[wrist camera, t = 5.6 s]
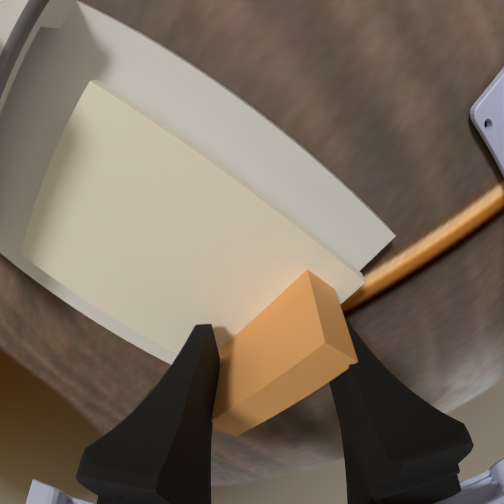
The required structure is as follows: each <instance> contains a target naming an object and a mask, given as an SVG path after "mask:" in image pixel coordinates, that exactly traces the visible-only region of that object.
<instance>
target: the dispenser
mask: <svg viewBox="0 0 504 504" xmlns="http://www.w3.org/2000/svg"><path fill="white" fill-rule="evenodd" d="M92 80H99V81H100V82H102V83H104V84H105V85H107V86H108V87H110V88H111V89H113V90H115V91H116V92H118V93H119V94H121V95H122V96H124V97H125V98H127V99H128V100H130V101H132V102H133V103H135V104H136V105H138V106H139V107H141V108H142V109H144V110H145V111H147V112H148V113H150V114H151V115H153V116H154V117H156V118H157V119H158V120H160V121H161V122H163V123H164V124H166V125H167V126H169V127H170V128H172V129H173V130H175V131H176V132H177V133H179V134H180V135H182V136H183V137H185V138H186V139H188V140H189V141H190V142H192V143H193V144H195V145H196V146H197V147H199V148H200V149H202V150H203V151H204V152H206V153H207V154H209V155H210V156H211V157H213V158H214V159H216V160H217V161H218V162H220V163H221V164H223V165H224V166H225V167H227V168H228V169H229V170H231V171H232V172H233V173H235V174H236V175H238V176H239V177H240V178H242V179H243V180H244V181H246V182H247V183H248V184H250V185H251V186H252V187H254V188H255V189H256V190H258V191H259V192H260V193H262V194H263V195H264V196H266V197H267V198H268V199H270V200H271V201H272V202H273V203H275V204H276V205H277V206H279V207H280V208H281V209H283V210H284V211H285V212H286V213H288V214H289V215H290V216H292V217H293V218H294V219H295V220H297V221H298V222H299V223H301V224H302V225H303V226H304V227H306V228H307V229H308V230H309V231H311V232H312V233H313V234H314V235H316V236H317V237H318V238H319V239H321V240H322V241H323V242H324V243H326V244H327V245H328V246H329V247H331V248H332V249H333V250H334V251H335V252H337V253H338V254H339V255H340V256H342V257H343V258H344V259H345V260H346V261H348V262H349V263H350V264H351V265H353V266H354V267H355V268H356V269H357V270H359V271H360V270H361V269H362V268H363V267H364V266H365V265H366V264H367V263H368V262H369V261H370V260H372V259H373V258H374V257H375V256H376V255H377V254H378V253H379V252H380V251H381V250H382V249H383V248H384V247H385V246H386V245H387V244H388V243H389V242H390V241H391V240H392V239H393V238H394V237H395V234H394V233H393V232H392V231H391V229H390V228H389V227H388V226H387V225H386V224H385V223H384V221H383V220H382V219H381V218H380V217H379V216H378V215H377V214H376V213H375V212H373V211H372V210H371V209H370V208H369V207H368V206H367V205H366V204H365V203H364V202H363V201H362V200H361V199H360V198H359V197H358V196H357V195H356V194H355V193H354V192H353V191H352V190H351V189H350V188H349V187H347V186H346V185H345V184H344V183H343V182H342V181H341V180H340V179H339V178H338V177H337V176H335V175H334V174H333V173H332V172H331V171H330V170H329V169H328V168H327V167H325V166H324V165H323V164H322V163H321V162H320V161H319V160H317V159H316V158H315V157H314V156H313V155H312V154H311V153H309V152H308V151H307V150H306V149H305V148H303V147H302V146H301V145H300V144H299V143H298V142H296V141H295V140H294V139H293V138H291V137H290V136H289V135H288V134H287V133H285V132H284V131H283V130H282V129H280V128H279V127H278V126H277V125H275V124H274V123H273V122H272V121H270V120H269V119H268V118H267V117H265V116H264V115H263V114H261V113H260V112H259V111H257V110H256V109H255V108H254V107H252V106H251V105H250V104H248V103H247V102H246V101H244V100H243V99H241V98H240V97H239V96H237V95H236V94H235V93H233V92H232V91H230V90H229V89H228V88H226V87H225V86H223V85H222V84H221V83H219V82H218V81H216V80H215V79H213V78H212V77H211V76H209V75H208V74H206V73H205V72H203V71H202V70H200V69H199V68H197V67H196V66H194V65H193V64H191V63H190V62H188V61H187V60H185V59H183V58H182V57H180V56H179V55H177V54H176V53H174V52H172V51H171V50H169V49H168V48H166V47H164V46H163V45H161V44H159V43H158V42H156V41H154V40H153V39H151V38H149V37H148V36H146V35H144V34H142V33H141V32H139V31H137V30H135V29H134V28H132V27H130V26H128V25H126V24H124V23H123V22H121V21H119V20H117V19H115V18H113V17H111V16H109V15H107V14H106V13H104V12H102V11H100V10H98V9H96V8H94V7H92V6H89V5H87V4H85V3H83V2H81V1H79V0H0V253H1V254H2V255H3V256H5V257H6V258H7V259H8V260H9V261H11V262H12V263H13V264H14V265H16V266H17V267H18V268H19V269H21V270H22V271H23V272H25V273H26V274H27V275H29V276H30V277H31V278H33V279H34V280H35V281H37V282H38V283H39V284H41V285H42V286H43V287H45V288H46V289H48V290H49V291H50V292H52V293H53V294H55V295H56V296H57V297H59V298H60V299H62V300H63V301H65V302H66V303H68V304H69V305H71V306H72V307H74V308H75V309H77V310H78V311H80V312H81V313H83V314H84V315H86V316H87V317H89V318H90V319H92V320H94V321H95V322H97V323H98V324H100V325H102V326H103V327H105V328H106V329H108V330H110V331H111V332H113V333H115V334H116V335H118V336H120V337H122V338H123V339H125V340H127V341H128V342H130V343H132V344H134V345H135V346H137V347H139V348H141V349H143V350H144V351H146V352H148V353H150V354H152V355H154V356H156V357H157V358H159V359H161V360H163V361H165V362H167V363H169V364H171V365H172V363H173V362H174V360H175V359H176V357H177V354H176V353H174V352H172V351H170V350H168V349H166V348H164V347H163V346H161V345H159V344H157V343H155V342H153V341H152V340H150V339H148V338H146V337H145V336H143V335H141V334H139V333H138V332H136V331H134V330H132V329H131V328H129V327H127V326H126V325H124V324H122V323H121V322H119V321H117V320H116V319H114V318H112V317H111V316H109V315H108V314H106V313H104V312H103V311H101V310H100V309H98V308H97V307H95V306H93V305H92V304H90V303H89V302H87V301H86V300H84V299H83V298H81V297H80V296H78V295H77V294H75V293H74V292H72V291H71V290H69V289H68V288H66V287H65V286H64V285H62V284H61V283H59V282H58V281H57V280H55V279H54V278H52V277H51V276H50V275H48V274H47V273H45V272H44V271H43V270H41V269H40V268H39V267H37V266H36V265H35V264H33V263H32V262H31V261H29V260H28V259H27V258H26V257H24V256H23V255H22V254H20V253H21V249H22V246H23V242H24V238H25V234H26V231H27V227H28V224H29V220H30V217H31V214H32V211H33V208H34V205H35V202H36V199H37V196H38V193H39V190H40V187H41V184H42V182H43V179H44V176H45V174H46V171H47V169H48V166H49V164H50V161H51V159H52V156H53V154H54V152H55V149H56V147H57V145H58V142H59V140H60V138H61V136H62V134H63V131H64V129H65V127H66V125H67V123H68V121H69V119H70V117H71V115H72V113H73V111H74V109H75V107H76V105H77V103H78V101H79V99H80V97H81V96H82V94H83V92H84V90H85V88H86V87H87V85H88V83H89V81H92Z"/></svg>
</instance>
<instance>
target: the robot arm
mask: <svg viewBox="0 0 504 504" xmlns="http://www.w3.org/2000/svg"><path fill="white" fill-rule="evenodd" d="M470 118H471V120H472V122H473V124H474V125H475V127H476V129H477V130H478V132H479V133H480V135H481V137H482V138H483V140H484V142H485V144H486V145H487V147H488V149H489V151H490V152H491V154H492V156H493V158H494V160H495V161H496V163H497V165H498V167H499V169H500V171H501V173H502V175H503V177H504V67H503V68H502V70H501V71H500V72H499V73H498V75H497V76H496V77H495V79H494V80H493V81H492V82H491V84H490V85H489V86H488V87H487V88H486V90H485V91H484V92H483V93H482V95H481V96H480V97H479V98H478V99H477V101H476V102H475V103H474V104H473V105H472V107H471V109H470ZM485 120H487V126H486V128H485V127H484V123H485ZM344 318H345V316H344ZM345 321H346V324H347V327H348V331H349V334H350V337H351V340H352V343H353V346H354V350H355V353H356V356H357V360H358V362H357V363H355V364H349V368H348V369H347V370H346V371H344V372H343V373H341V374H340V375H338V376H337V377H335V378H334V379H332V380H331V381H329V383H330V387H331V391H332V394H333V398H334V402H335V406H336V410H337V413H338V417H339V422H340V427H341V434H342V441H343V449H344V459H345V469H346V481H347V499H348V504H504V458H503V459H501V460H499V461H498V462H497V463H495V464H494V465H493V466H492V467H491V468H490V469H488V470H486V471H484V472H482V473H480V474H478V475H476V476H474V477H471V478H469V479H467V480H465V481H462V482H460V483H459V480H458V476H457V474H458V473H459V472H460V469H459V466H458V463H459V462H460V461H461V460H463V459H464V458H465V457H466V456H467V455H468V454H469V453H470V452H471V450H472V448H473V446H474V445H473V443H472V440H471V437H470V434H469V432H468V430H467V429H466V427H465V425H464V424H463V423H461V422H459V421H457V420H455V419H454V418H451V417H450V416H448V415H446V414H444V413H442V412H441V411H439V410H437V409H436V408H434V407H433V406H431V405H430V404H428V403H427V402H426V401H424V400H423V399H421V398H420V397H419V396H417V395H416V394H415V393H413V392H412V391H411V390H410V389H408V388H407V387H406V386H405V385H404V384H402V383H401V382H400V381H399V380H398V379H397V378H396V377H395V376H394V375H393V374H392V373H391V372H390V371H389V370H388V369H387V368H386V367H385V366H384V365H383V364H382V363H381V362H380V361H379V360H378V359H377V358H376V356H375V355H374V354H373V353H372V352H371V351H370V349H369V348H368V347H367V346H366V345H365V343H364V342H363V341H362V340H361V338H360V337H359V336H358V334H357V333H356V332H355V330H354V329H353V328H352V326H351V325H350V323H349V322H348V321H347V319H346V318H345ZM219 369H220V356H219V352H218V348H217V344H216V340H215V336H214V332H213V328H212V324H196V325H195V326H194V328H193V330H192V332H191V333H190V335H189V337H188V339H187V341H186V342H185V344H184V346H183V347H182V349H181V351H180V352H179V354H178V355H177V357H176V359H175V360H174V362H173V363H172V365H171V366H170V368H169V369H168V370H167V372H166V373H165V375H164V376H163V377H162V379H161V380H160V381H159V383H158V384H157V385H156V387H155V388H154V389H153V390H152V391H151V393H150V394H149V395H148V396H147V397H146V398H145V399H144V401H143V402H142V403H141V404H140V405H139V406H138V407H137V408H136V409H135V410H134V411H133V412H132V413H131V414H130V415H129V416H128V417H126V418H125V419H124V420H123V421H122V422H121V423H119V424H118V425H117V426H116V427H115V428H113V429H112V430H111V431H110V432H108V433H107V434H106V435H104V436H103V437H101V438H100V439H99V440H97V441H96V442H94V443H93V444H91V445H90V446H88V447H87V448H85V450H84V452H83V455H82V457H81V461H80V464H79V468H78V472H77V475H76V479H77V481H78V482H79V483H80V484H81V485H83V486H84V487H86V488H87V489H89V490H90V491H92V492H93V493H95V494H96V495H98V500H97V504H211V436H212V426H213V423H212V421H211V420H212V414H213V408H214V402H215V396H216V391H217V385H218V379H219ZM26 504H94V503H90V502H87V501H83V500H80V499H77V498H74V497H71V496H68V495H67V494H66V493H64V492H63V491H61V490H59V489H57V488H55V487H52V486H50V485H47V484H45V483H42V482H40V481H37V480H35V479H34V480H33V481H32V484H31V488H30V491H29V495H28V498H27V502H26Z"/></svg>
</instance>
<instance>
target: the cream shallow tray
mask: <svg viewBox="0 0 504 504" xmlns="http://www.w3.org/2000/svg"><path fill="white" fill-rule="evenodd" d="M20 254H22V255H23V256H24V257H26V258H27V259H28V260H29V261H31V262H32V263H33V264H35V265H36V266H37V267H39V268H40V269H41V270H43V271H44V272H45V273H47V274H48V275H50V276H51V277H52V278H54V279H55V280H57V281H58V282H59V283H61V284H62V285H64V286H65V287H66V288H68V289H69V290H71V291H72V292H74V293H75V294H77V295H78V296H80V297H81V298H83V299H84V300H86V301H87V302H89V303H90V304H92V305H93V306H95V307H97V308H98V309H100V310H101V311H103V312H104V313H106V314H108V315H109V316H111V317H112V318H114V319H116V320H117V321H119V322H121V323H122V324H124V325H126V326H127V327H129V328H131V329H132V330H134V331H136V332H138V333H139V334H141V335H143V336H145V337H146V338H148V339H150V340H152V341H153V342H155V343H157V344H159V345H161V346H163V347H164V348H166V349H168V350H170V351H172V352H174V353H176V354H177V355H178V354H179V352H180V351H181V349H182V347H183V346H184V344H185V342H186V341H187V339H188V337H189V335H190V333H191V332H192V330H193V328H194V326H195V325H196V324H212V328H213V332H214V336H215V340H216V344H217V348H218V352H219V356H220V369H219V379H218V385H217V391H216V396H215V402H214V408H213V414H212V420H211V421H212V423H213V426H212V428H215V429H217V430H220V431H223V432H226V433H229V434H232V435H235V436H238V435H240V434H242V433H243V432H245V431H247V430H249V429H251V428H253V427H255V426H257V425H258V424H260V423H262V422H264V421H266V420H268V419H269V418H271V417H273V416H275V415H276V414H278V413H280V412H282V411H283V410H285V409H287V408H288V407H290V406H292V405H293V404H295V403H297V402H298V401H300V400H301V399H303V398H305V397H306V396H308V395H309V394H311V393H313V392H314V391H316V390H317V389H319V388H320V387H322V386H323V385H325V384H326V383H328V382H329V381H331V380H332V379H334V378H335V377H337V376H338V375H340V374H341V373H343V372H344V371H346V370H347V369H348V368H349V364H355V363H357V362H358V360H357V356H356V353H355V350H354V346H353V343H352V340H351V337H350V334H349V331H348V327H347V324H346V321H345V318H344V315H343V312H342V309H341V306H340V304H342V303H343V302H344V301H345V300H346V299H347V298H348V297H350V296H351V295H352V294H353V293H354V292H355V291H356V290H357V289H359V288H360V287H361V286H362V285H363V284H364V283H365V282H366V281H365V279H364V277H363V275H362V273H361V272H360V271H359V270H357V269H356V268H355V267H354V266H353V265H351V264H350V263H349V262H348V261H346V260H345V259H344V258H343V257H342V256H340V255H339V254H338V253H337V252H335V251H334V250H333V249H332V248H331V247H329V246H328V245H327V244H326V243H324V242H323V241H322V240H321V239H319V238H318V237H317V236H316V235H314V234H313V233H312V232H311V231H309V230H308V229H307V228H306V227H304V226H303V225H302V224H301V223H299V222H298V221H297V220H295V219H294V218H293V217H292V216H290V215H289V214H288V213H286V212H285V211H284V210H283V209H281V208H280V207H279V206H277V205H276V204H275V203H273V202H272V201H271V200H270V199H268V198H267V197H266V196H264V195H263V194H262V193H260V192H259V191H258V190H256V189H255V188H254V187H252V186H251V185H250V184H248V183H247V182H246V181H244V180H243V179H242V178H240V177H239V176H238V175H236V174H235V173H233V172H232V171H231V170H229V169H228V168H227V167H225V166H224V165H223V164H221V163H220V162H218V161H217V160H216V159H214V158H213V157H211V156H210V155H209V154H207V153H206V152H204V151H203V150H202V149H200V148H199V147H197V146H196V145H195V144H193V143H192V142H190V141H189V140H188V139H186V138H185V137H183V136H182V135H180V134H179V133H177V132H176V131H175V130H173V129H172V128H170V127H169V126H167V125H166V124H164V123H163V122H161V121H160V120H158V119H157V118H156V117H154V116H153V115H151V114H150V113H148V112H147V111H145V110H144V109H142V108H141V107H139V106H138V105H136V104H135V103H133V102H132V101H130V100H128V99H127V98H125V97H124V96H122V95H121V94H119V93H118V92H116V91H115V90H113V89H111V88H110V87H108V86H107V85H105V84H104V83H102V82H100V81H99V80H92V81H89V83H88V85H87V87H86V88H85V90H84V92H83V94H82V96H81V97H80V99H79V101H78V103H77V105H76V107H75V109H74V111H73V113H72V115H71V117H70V119H69V121H68V123H67V125H66V127H65V129H64V131H63V134H62V136H61V138H60V140H59V142H58V145H57V147H56V149H55V152H54V154H53V156H52V159H51V161H50V164H49V166H48V169H47V171H46V174H45V176H44V179H43V182H42V184H41V187H40V190H39V193H38V196H37V199H36V202H35V205H34V208H33V211H32V214H31V217H30V220H29V224H28V227H27V231H26V234H25V238H24V242H23V246H22V249H21V253H20Z"/></svg>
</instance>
